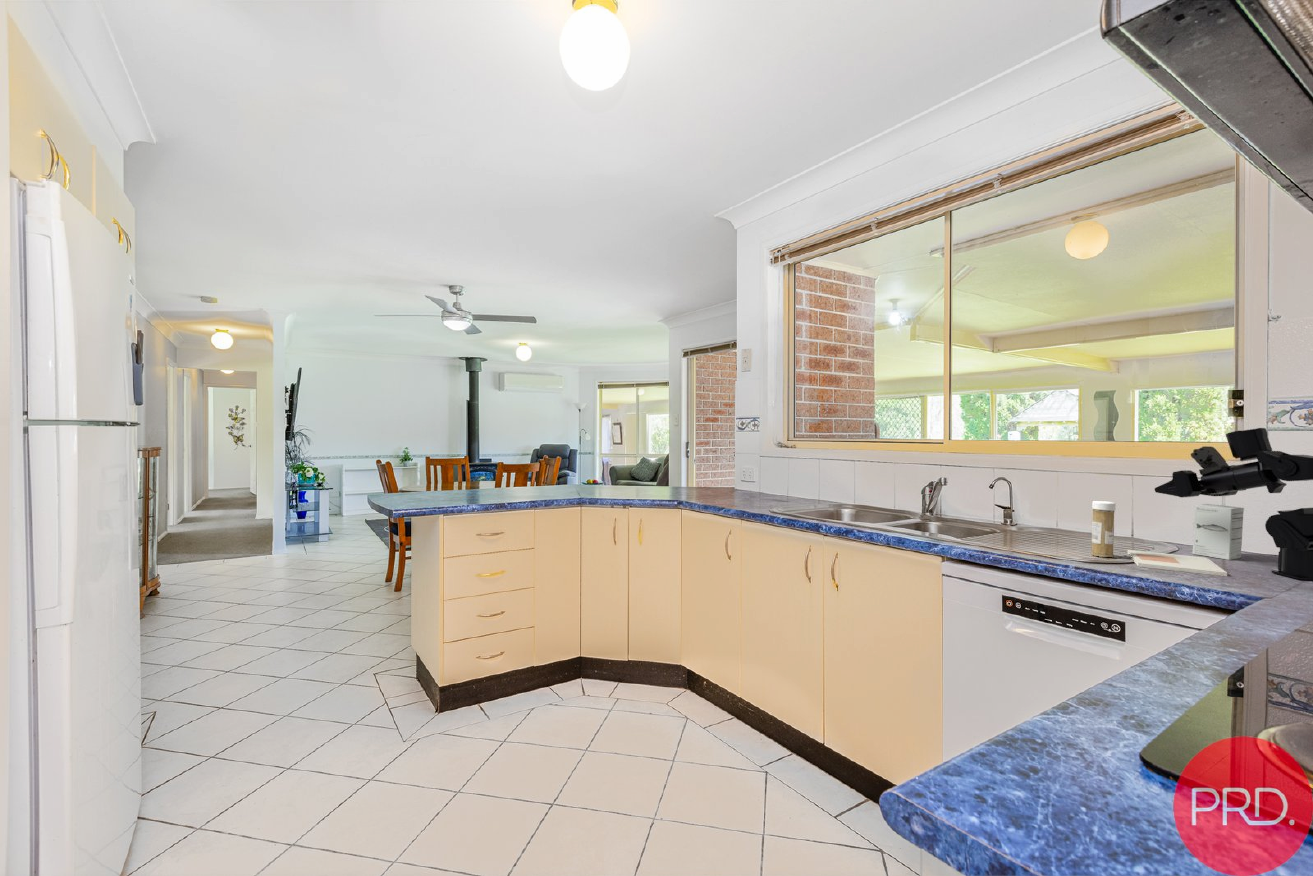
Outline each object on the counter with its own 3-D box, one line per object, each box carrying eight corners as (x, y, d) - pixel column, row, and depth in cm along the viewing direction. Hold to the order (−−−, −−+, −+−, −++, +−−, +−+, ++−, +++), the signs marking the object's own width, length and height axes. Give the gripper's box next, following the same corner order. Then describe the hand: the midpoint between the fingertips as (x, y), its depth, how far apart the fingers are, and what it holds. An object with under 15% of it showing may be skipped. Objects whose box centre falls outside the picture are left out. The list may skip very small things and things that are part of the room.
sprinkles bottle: (1116, 559, 145) (1118, 503, 144) (1093, 557, 146) (1095, 502, 146) (1110, 555, 149) (1112, 501, 148) (1088, 553, 150) (1090, 500, 150)
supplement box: (1191, 554, 152) (1193, 504, 152) (1204, 552, 155) (1206, 503, 155) (1229, 560, 145) (1231, 508, 145) (1242, 557, 149) (1244, 507, 149)
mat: (1206, 561, 144) (1206, 557, 144) (1227, 576, 129) (1227, 572, 129) (1127, 552, 152) (1127, 549, 152) (1138, 566, 137) (1138, 562, 137)
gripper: (1253, 443, 144) (1181, 459, 158) (1204, 443, 138) (1133, 459, 152) (1269, 489, 141) (1194, 501, 156) (1220, 491, 135) (1146, 502, 149)
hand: (1167, 489), depth 153 cm, fingers open, 9 cm apart
